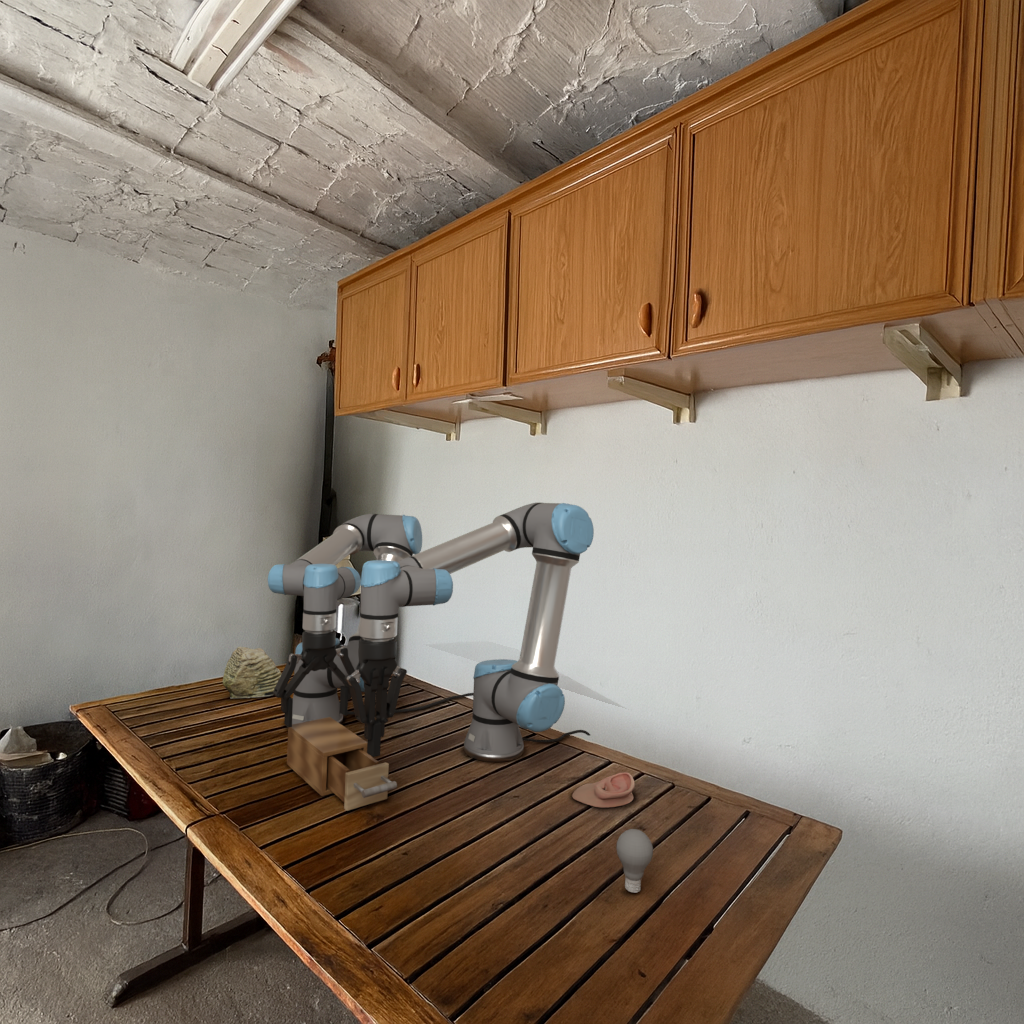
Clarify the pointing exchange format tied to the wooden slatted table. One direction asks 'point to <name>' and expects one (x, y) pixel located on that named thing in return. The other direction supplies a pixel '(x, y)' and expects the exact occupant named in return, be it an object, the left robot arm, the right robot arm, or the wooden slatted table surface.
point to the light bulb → (634, 857)
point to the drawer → (358, 778)
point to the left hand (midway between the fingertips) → (316, 719)
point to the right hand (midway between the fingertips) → (373, 753)
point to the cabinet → (318, 749)
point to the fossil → (250, 674)
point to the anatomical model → (607, 791)
